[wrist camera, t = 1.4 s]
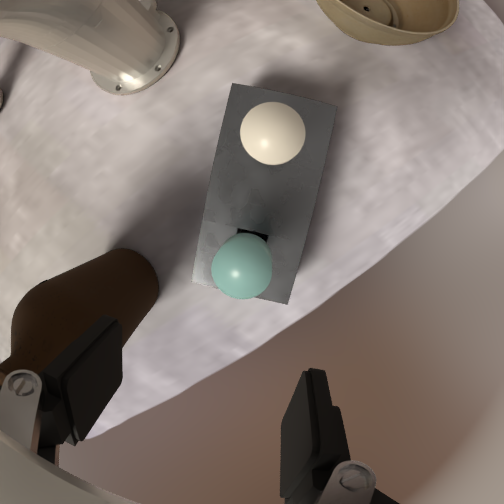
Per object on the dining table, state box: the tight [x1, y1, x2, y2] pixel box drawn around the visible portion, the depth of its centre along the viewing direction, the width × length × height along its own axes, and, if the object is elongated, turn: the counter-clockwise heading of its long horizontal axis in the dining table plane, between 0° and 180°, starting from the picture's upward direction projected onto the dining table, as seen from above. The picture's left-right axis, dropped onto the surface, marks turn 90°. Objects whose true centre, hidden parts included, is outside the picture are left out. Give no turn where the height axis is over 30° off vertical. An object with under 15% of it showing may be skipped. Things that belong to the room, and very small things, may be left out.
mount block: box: [191, 83, 337, 305], centre depth 31 cm, size 20×10×6 cm, turn 168°
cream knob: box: [240, 102, 305, 165], centre depth 24 cm, size 4×4×9 cm
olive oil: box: [0, 248, 159, 385], centre depth 26 cm, size 11×11×25 cm
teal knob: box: [211, 233, 272, 299], centre depth 26 cm, size 4×4×9 cm
